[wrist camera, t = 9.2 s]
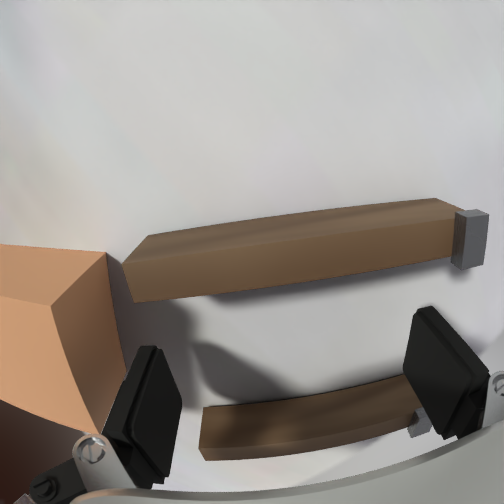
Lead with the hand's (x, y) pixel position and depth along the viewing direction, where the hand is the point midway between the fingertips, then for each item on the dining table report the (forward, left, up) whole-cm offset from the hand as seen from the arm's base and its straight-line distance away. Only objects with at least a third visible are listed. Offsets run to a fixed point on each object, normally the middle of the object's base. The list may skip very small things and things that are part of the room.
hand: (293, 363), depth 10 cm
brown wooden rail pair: (0, +1, -2) cm, 2 cm away
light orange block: (-2, -10, -2) cm, 11 cm away
